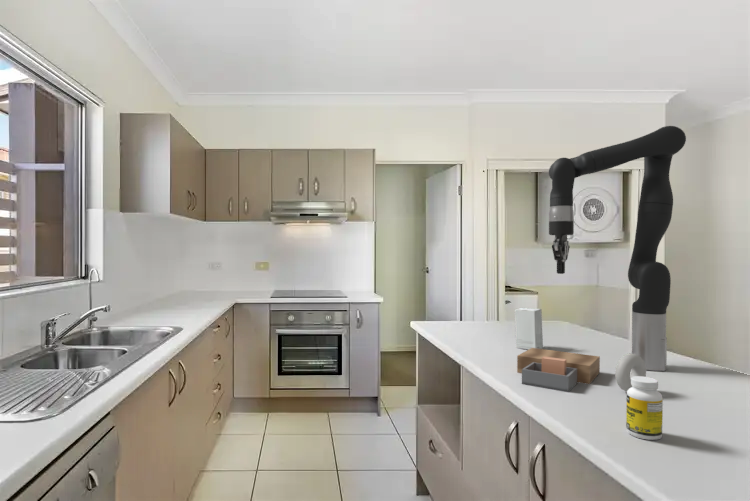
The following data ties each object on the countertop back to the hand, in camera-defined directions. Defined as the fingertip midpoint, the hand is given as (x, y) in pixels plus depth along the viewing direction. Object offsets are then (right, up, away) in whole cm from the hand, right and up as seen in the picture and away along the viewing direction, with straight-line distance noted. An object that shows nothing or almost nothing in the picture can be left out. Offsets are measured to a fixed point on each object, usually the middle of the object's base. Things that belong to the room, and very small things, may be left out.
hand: (560, 273), depth 151 cm
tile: (-11, -25, -22) cm, 35 cm away
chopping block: (-6, -29, -13) cm, 32 cm away
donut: (+6, -29, -31) cm, 43 cm away
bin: (-13, -29, -24) cm, 40 cm away
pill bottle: (-7, -29, -59) cm, 66 cm away
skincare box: (-3, -29, +21) cm, 36 cm away
